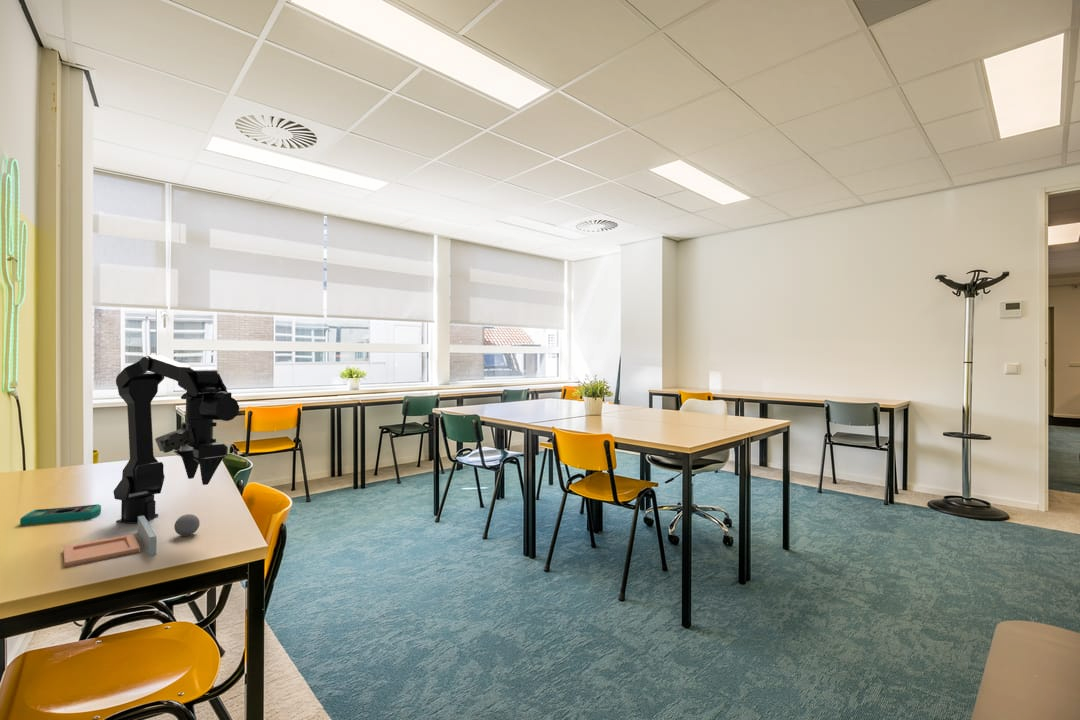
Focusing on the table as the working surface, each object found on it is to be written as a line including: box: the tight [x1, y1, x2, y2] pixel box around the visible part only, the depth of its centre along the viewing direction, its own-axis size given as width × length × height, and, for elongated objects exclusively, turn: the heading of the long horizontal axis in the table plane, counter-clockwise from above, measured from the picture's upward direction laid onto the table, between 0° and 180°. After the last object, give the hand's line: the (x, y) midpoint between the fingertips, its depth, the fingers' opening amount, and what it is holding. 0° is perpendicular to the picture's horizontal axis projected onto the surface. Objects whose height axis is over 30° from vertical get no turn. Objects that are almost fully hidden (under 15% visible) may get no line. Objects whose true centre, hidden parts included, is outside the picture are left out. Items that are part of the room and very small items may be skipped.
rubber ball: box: [173, 513, 201, 537], centre depth 121 cm, size 5×5×5 cm
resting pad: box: [62, 533, 141, 568], centre depth 110 cm, size 12×12×1 cm
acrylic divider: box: [137, 516, 158, 557], centre depth 115 cm, size 20×1×4 cm, turn 45°
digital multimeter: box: [19, 504, 102, 527], centre depth 132 cm, size 7×15×3 cm, turn 116°
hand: (198, 481), depth 123 cm, fingers open, 9 cm apart
